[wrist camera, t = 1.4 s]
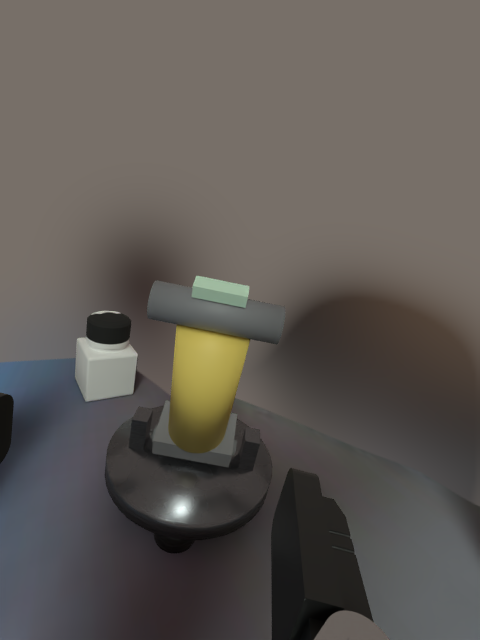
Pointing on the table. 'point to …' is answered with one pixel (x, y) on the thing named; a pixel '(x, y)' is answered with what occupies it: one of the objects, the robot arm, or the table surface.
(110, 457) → the dark grey round stand
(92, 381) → the medicine bottle
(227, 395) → the yellow mallet
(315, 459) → the table surface
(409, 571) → the table surface
